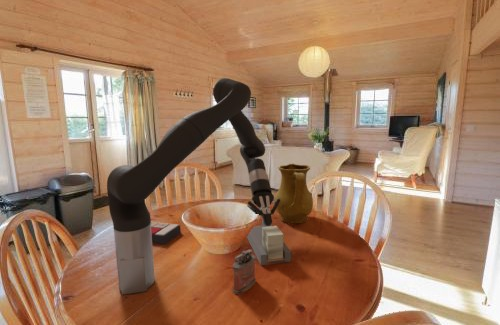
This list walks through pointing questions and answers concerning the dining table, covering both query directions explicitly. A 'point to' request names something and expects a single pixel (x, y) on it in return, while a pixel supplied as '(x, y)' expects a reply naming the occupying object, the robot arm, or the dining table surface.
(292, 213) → the pitcher
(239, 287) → the lighter
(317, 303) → the dining table surface
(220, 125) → the robot arm
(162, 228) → the dark box
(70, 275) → the dining table surface
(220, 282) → the dining table surface
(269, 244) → the block
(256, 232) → the chute
